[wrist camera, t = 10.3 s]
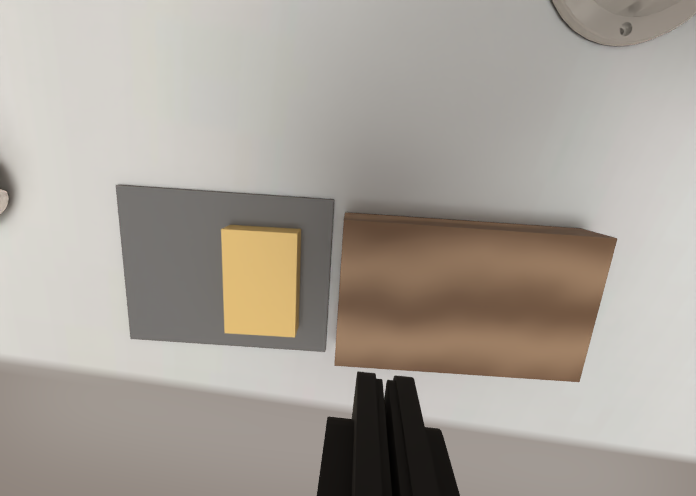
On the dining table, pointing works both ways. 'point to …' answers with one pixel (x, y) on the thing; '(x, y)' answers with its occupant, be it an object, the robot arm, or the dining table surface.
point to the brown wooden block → (469, 296)
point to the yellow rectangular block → (261, 280)
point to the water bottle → (3, 200)
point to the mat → (213, 262)
